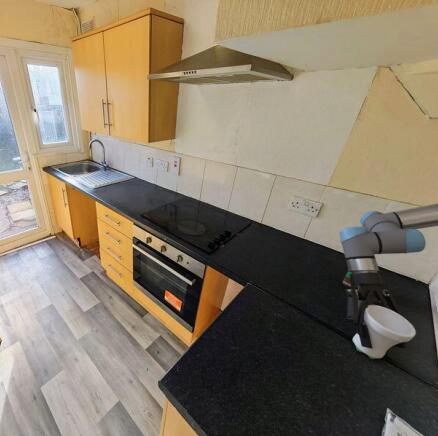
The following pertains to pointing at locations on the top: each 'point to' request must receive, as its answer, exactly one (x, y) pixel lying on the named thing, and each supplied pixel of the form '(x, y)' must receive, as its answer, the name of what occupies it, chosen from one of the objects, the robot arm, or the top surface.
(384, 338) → the cup
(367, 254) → the robot arm
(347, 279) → the food container
